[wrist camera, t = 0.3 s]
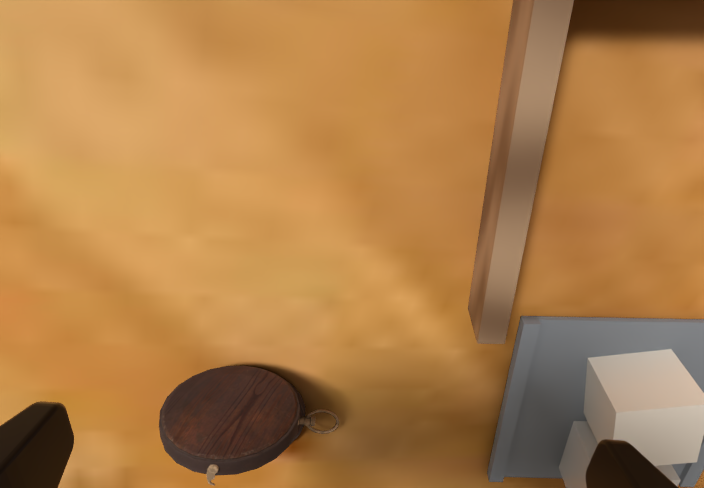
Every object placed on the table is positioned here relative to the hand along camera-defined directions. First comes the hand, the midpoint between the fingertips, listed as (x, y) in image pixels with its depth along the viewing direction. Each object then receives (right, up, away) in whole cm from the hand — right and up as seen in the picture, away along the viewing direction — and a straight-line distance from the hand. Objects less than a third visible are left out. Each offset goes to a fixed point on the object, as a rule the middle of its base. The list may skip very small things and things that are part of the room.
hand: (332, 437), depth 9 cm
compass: (-4, -5, +20) cm, 21 cm away
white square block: (+15, -4, +18) cm, 24 cm away
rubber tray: (+15, -5, +19) cm, 25 cm away
